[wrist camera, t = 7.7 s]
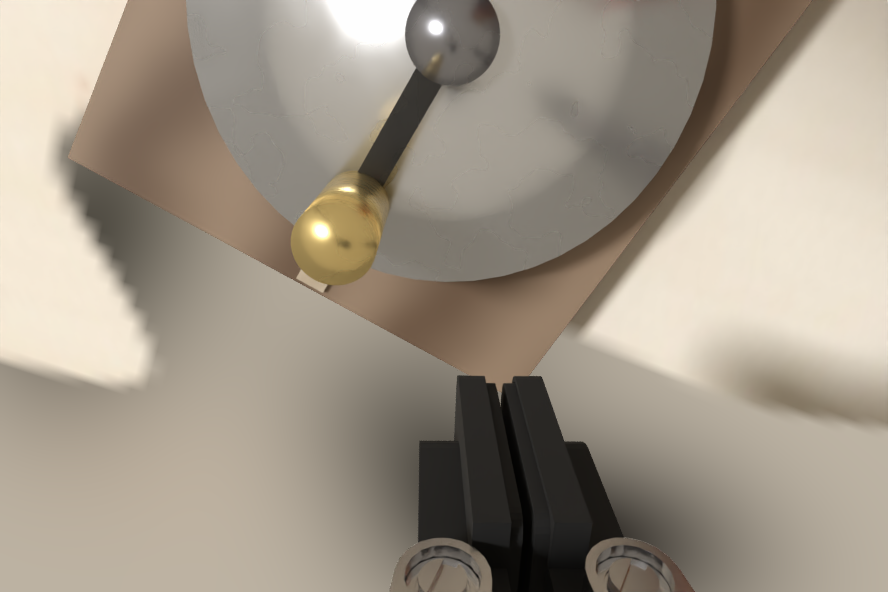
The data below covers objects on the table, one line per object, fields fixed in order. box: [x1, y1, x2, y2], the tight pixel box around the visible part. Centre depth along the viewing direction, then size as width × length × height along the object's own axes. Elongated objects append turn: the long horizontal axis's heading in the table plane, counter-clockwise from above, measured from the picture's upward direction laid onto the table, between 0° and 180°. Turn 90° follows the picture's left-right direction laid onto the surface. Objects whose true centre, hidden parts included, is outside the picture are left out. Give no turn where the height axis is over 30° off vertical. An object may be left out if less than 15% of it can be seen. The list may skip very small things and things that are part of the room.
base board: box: [68, 0, 812, 393], centre depth 22 cm, size 20×22×2 cm
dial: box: [186, 0, 716, 285], centre depth 18 cm, size 17×17×6 cm
